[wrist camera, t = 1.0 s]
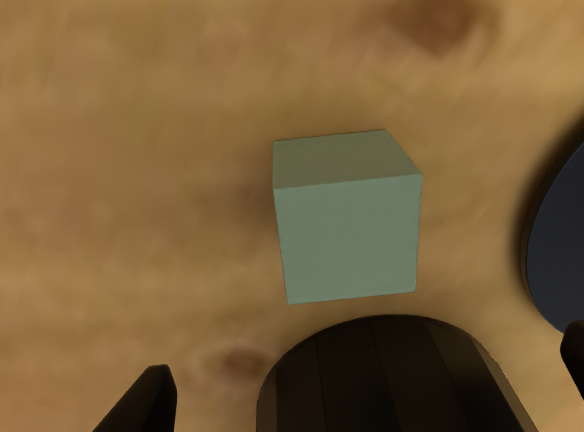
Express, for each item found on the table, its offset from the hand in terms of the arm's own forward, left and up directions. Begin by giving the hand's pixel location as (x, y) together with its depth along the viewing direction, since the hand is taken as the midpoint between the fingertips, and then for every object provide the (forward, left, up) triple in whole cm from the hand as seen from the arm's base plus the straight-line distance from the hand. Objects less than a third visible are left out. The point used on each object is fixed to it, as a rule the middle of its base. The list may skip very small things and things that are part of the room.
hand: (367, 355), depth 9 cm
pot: (-14, +2, -9) cm, 17 cm away
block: (0, 0, -9) cm, 9 cm away
